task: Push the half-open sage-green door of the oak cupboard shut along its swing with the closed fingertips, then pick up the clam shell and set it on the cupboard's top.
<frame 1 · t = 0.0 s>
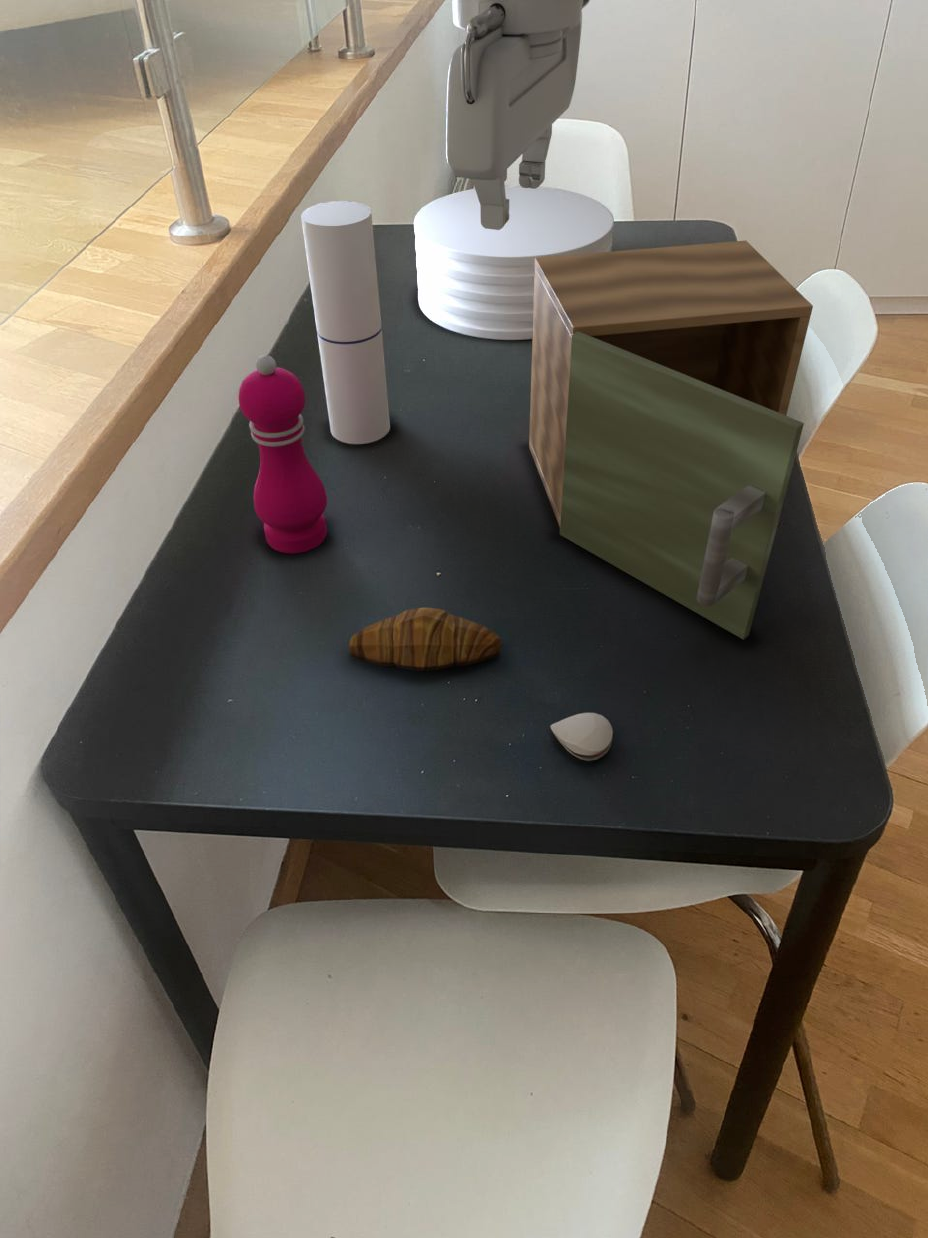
hand: (514, 204, 72), 33 cm above the table, tool pointing down, fingers open, 8 cm apart
croissant: (426, 658, 82), on the table
cupboard door: (643, 500, 80), point 11 cm above the table, hinge at 55.0°
cylindrical container: (360, 429, 111), on the table
pepper mill: (297, 536, 95), on the table
clam shell: (579, 745, 74), on the table
plate stack: (512, 298, 137), on the table
cupboard: (641, 475, 102), on the table
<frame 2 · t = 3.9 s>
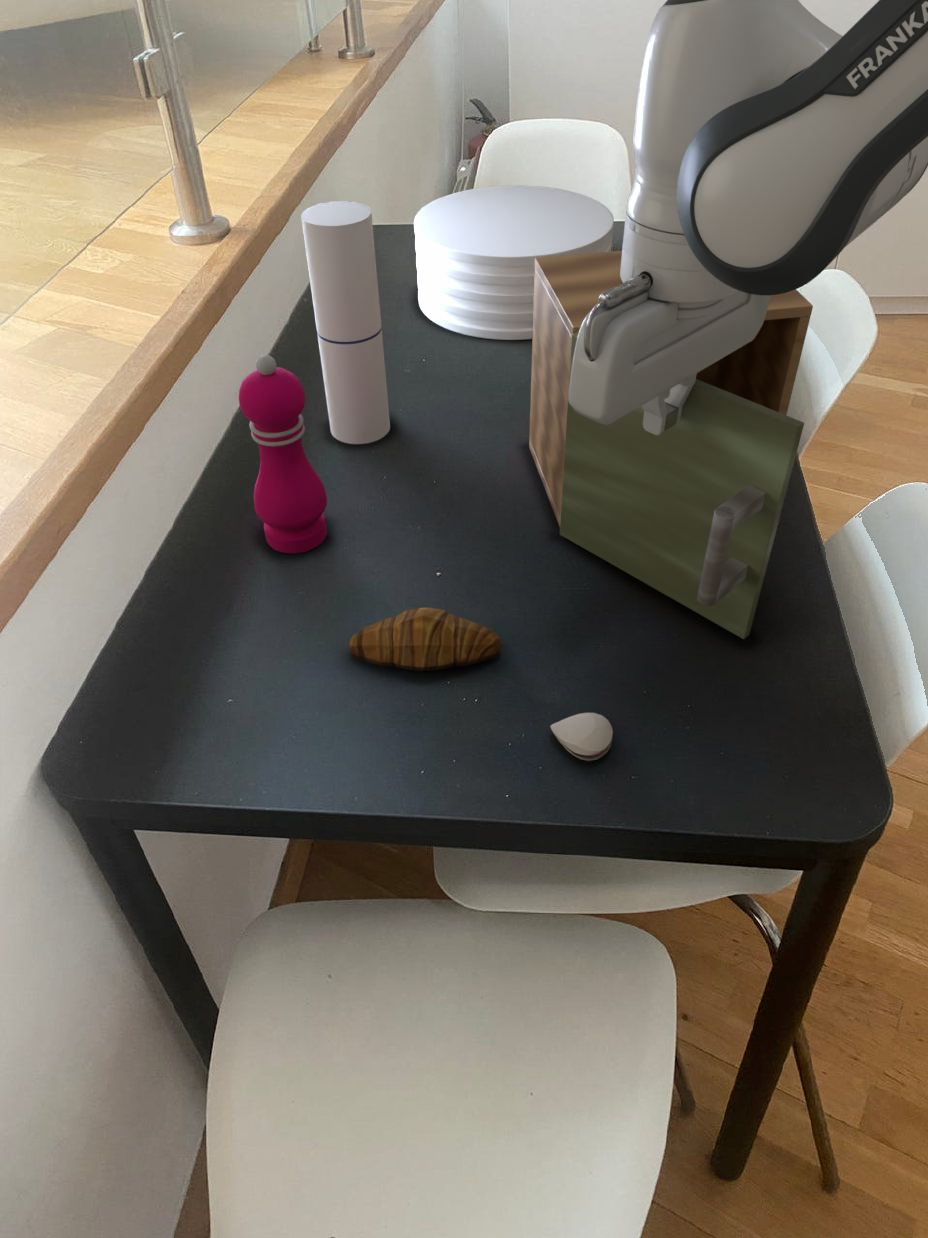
hand: (660, 426, 74), 19 cm above the table, tool pointing down, fingers closed
cupboard door: (643, 500, 80), point 11 cm above the table, hinge at 54.8°, touching gripper
everything else where it was.
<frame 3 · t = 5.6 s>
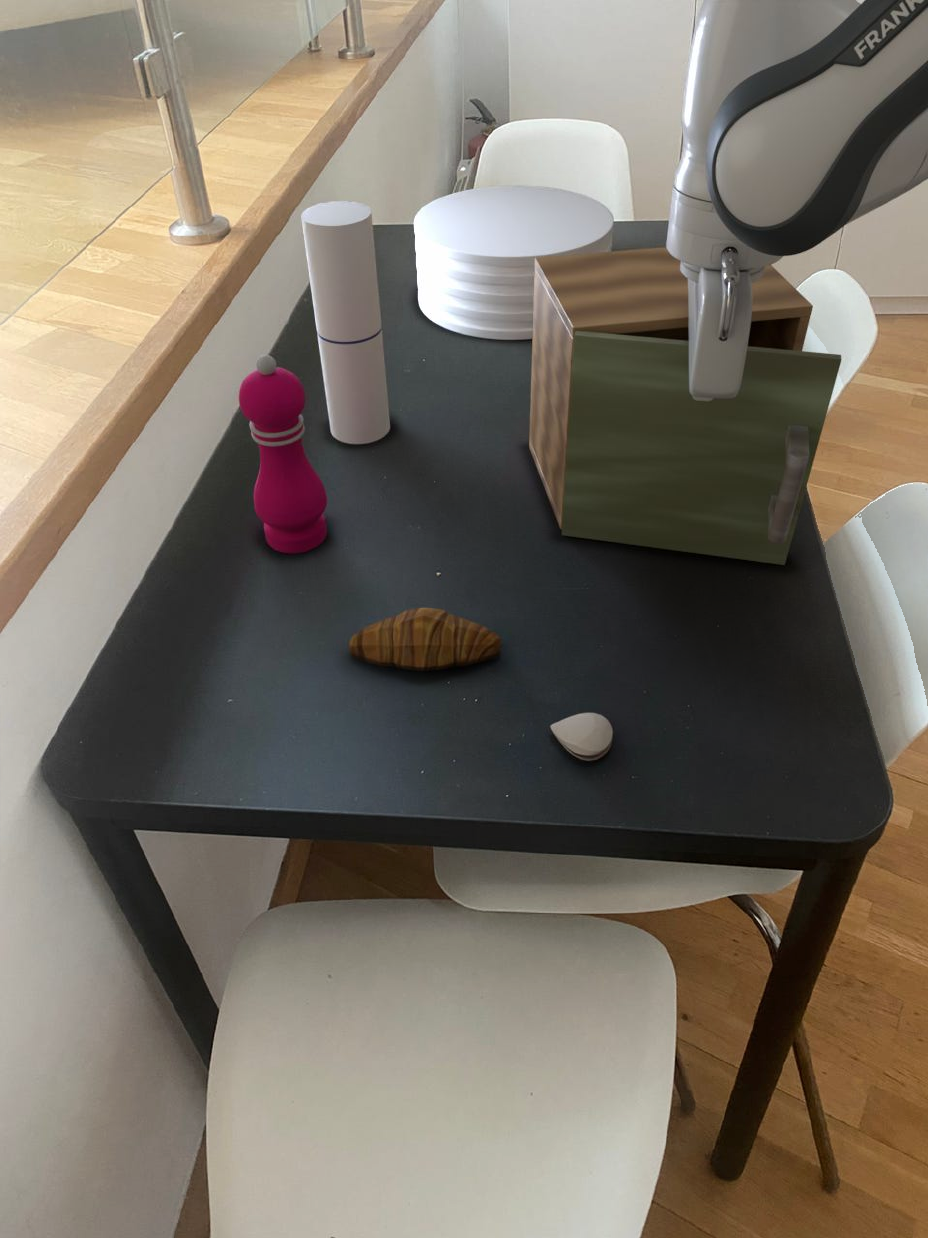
hand: (702, 394, 78), 19 cm above the table, tool pointing down, fingers closed
cupboard door: (684, 470, 83), point 11 cm above the table, hinge at 23.0°, touching gripper
everything else where it was.
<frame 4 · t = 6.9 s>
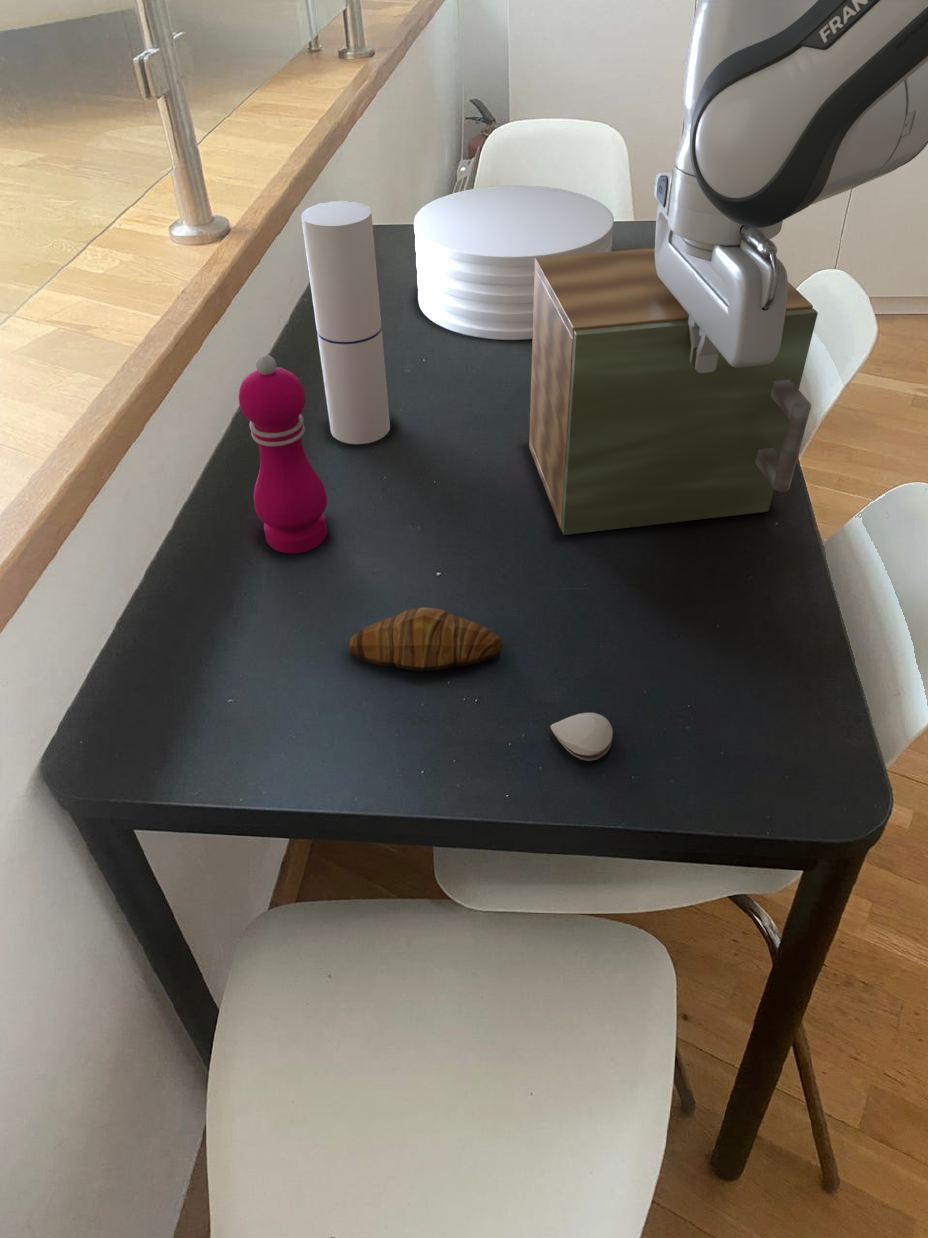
hand: (701, 367, 81), 19 cm above the table, tool pointing down, fingers closed
cupboard door: (689, 443, 86), point 11 cm above the table, hinge at -0.2°, touching gripper
everything else where it was.
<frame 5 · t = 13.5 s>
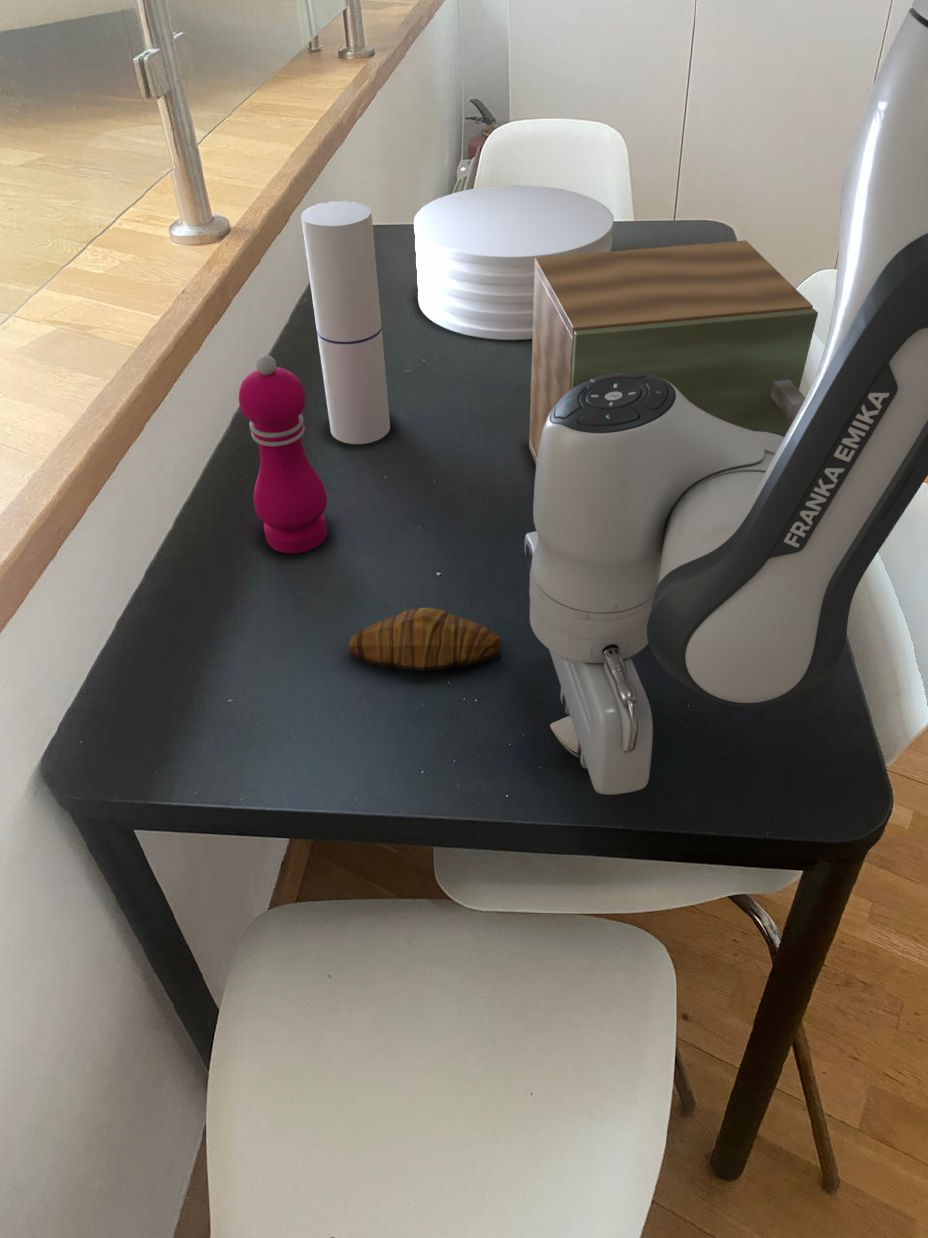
hand: (581, 732, 73), 2 cm above the table, tool pointing down, fingers closed on clam shell, 4 cm apart
cupboard door: (689, 444, 86), point 11 cm above the table, hinge at -0.1°
clam shell: (579, 744, 74), on the table, touching gripper
everything else where it was.
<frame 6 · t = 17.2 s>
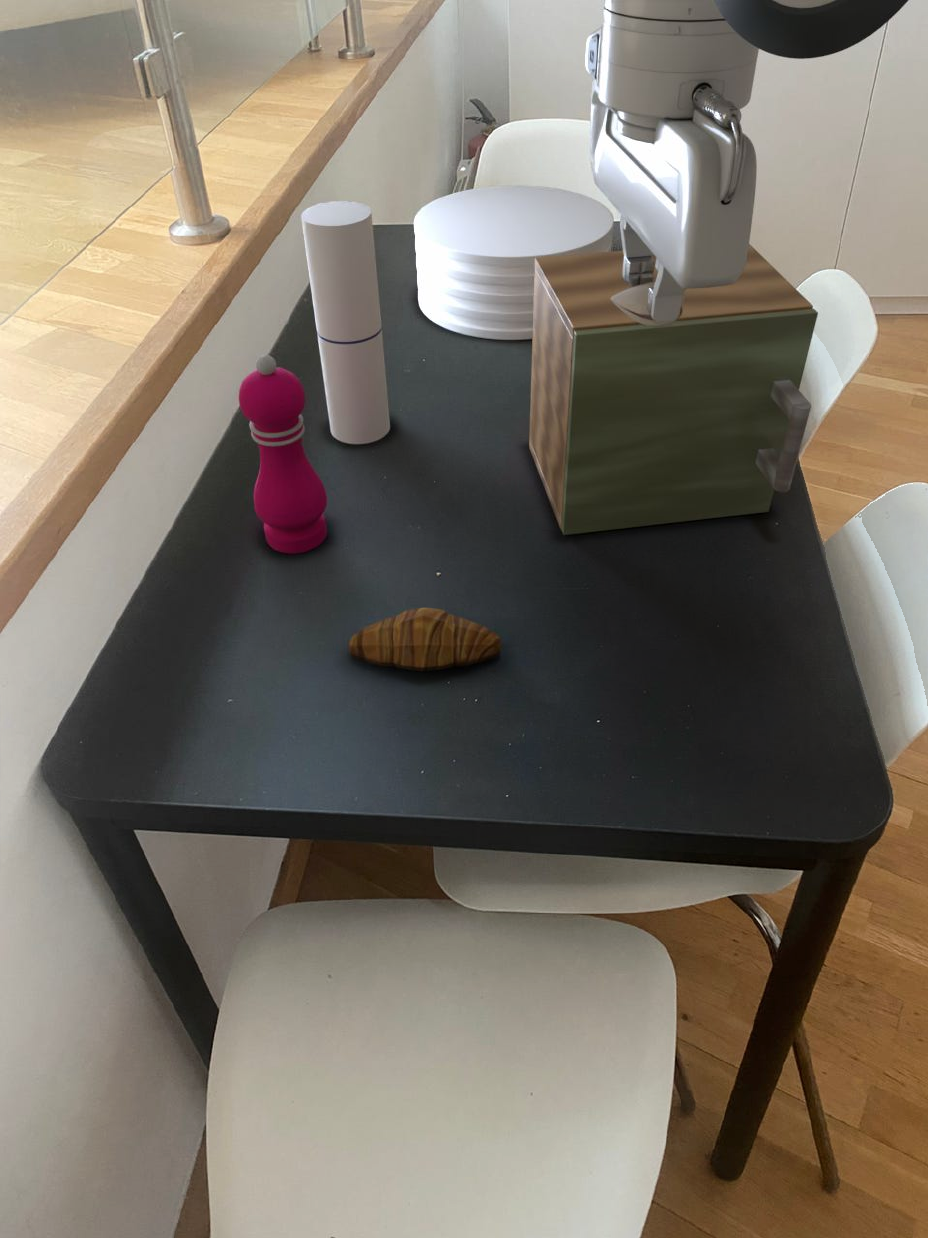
hand: (648, 299, 62), 31 cm above the table, tool pointing down, fingers closed on clam shell, 4 cm apart
clam shell: (643, 323, 64), point 29 cm above the table, touching gripper
everything else where it was.
when the fingers open (24 cm above the table, at t = 20.9 s): clam shell stays where it is, resting on cupboard.
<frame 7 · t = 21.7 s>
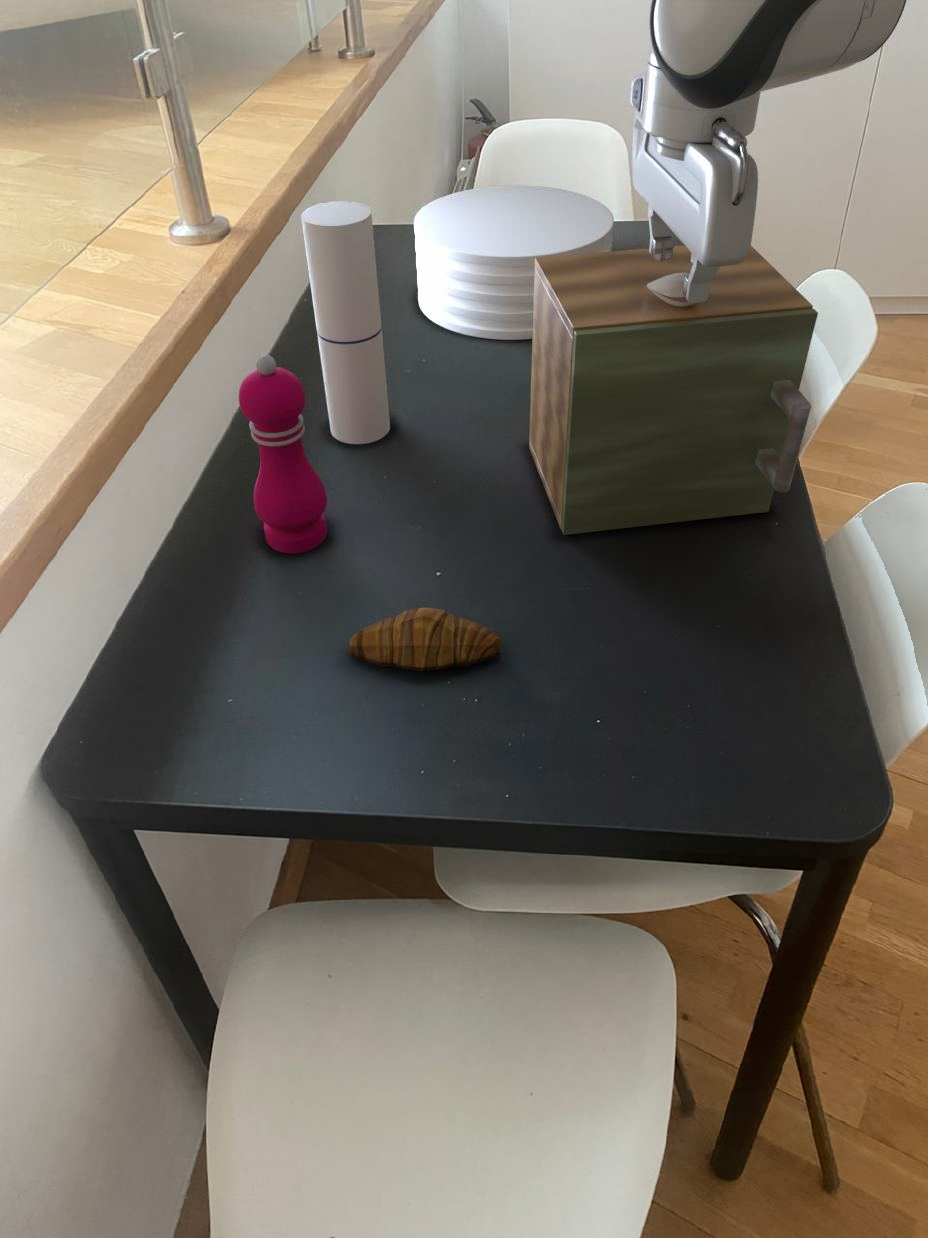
hand: (676, 277, 81), 24 cm above the table, tool pointing down, fingers open, 8 cm apart
clam shell: (671, 304, 83), point 22 cm above the table, touching cupboard
everything else where it was.
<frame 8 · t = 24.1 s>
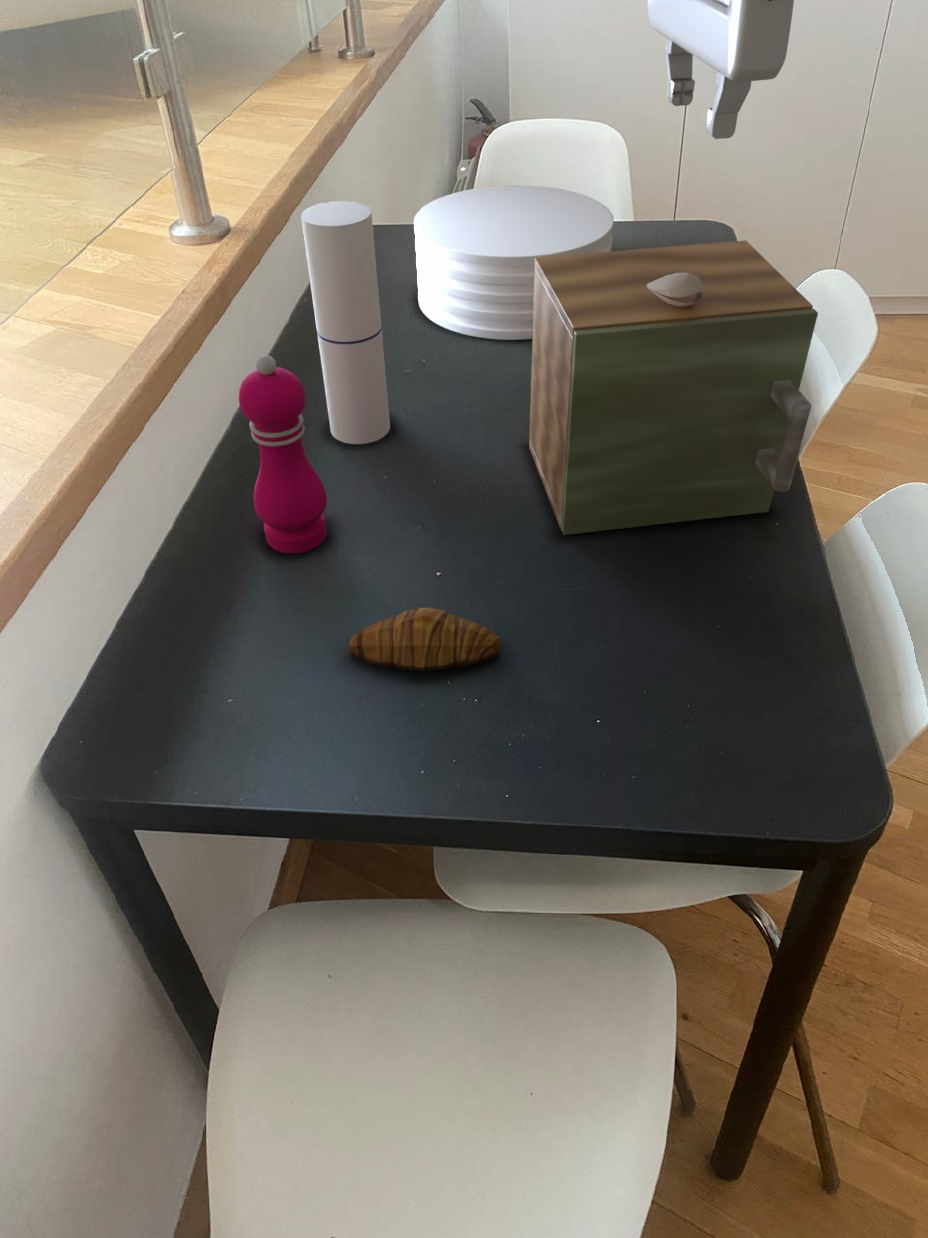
hand: (697, 118, 73), 37 cm above the table, tool pointing down, fingers open, 8 cm apart
nothing on the table moved.
at the end: cupboard door at +0° (first picture: +55°); clam shell inside the target area on the cupboard (4.9 cm from its centre), point 21.8 cm above the cupboard's base; the gripper is holding nothing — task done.
